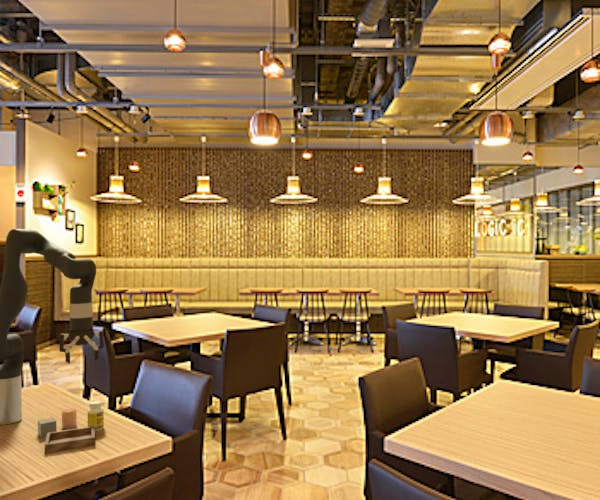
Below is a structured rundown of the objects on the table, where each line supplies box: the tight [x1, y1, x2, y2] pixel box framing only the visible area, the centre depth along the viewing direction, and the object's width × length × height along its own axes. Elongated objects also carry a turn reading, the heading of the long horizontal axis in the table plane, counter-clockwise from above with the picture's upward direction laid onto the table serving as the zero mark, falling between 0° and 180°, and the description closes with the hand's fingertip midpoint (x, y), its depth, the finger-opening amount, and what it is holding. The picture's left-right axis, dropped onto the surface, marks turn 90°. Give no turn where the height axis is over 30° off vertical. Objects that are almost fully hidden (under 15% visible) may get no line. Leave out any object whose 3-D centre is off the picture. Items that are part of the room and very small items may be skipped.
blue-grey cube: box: [37, 417, 58, 439], centre depth 180 cm, size 5×5×5 cm
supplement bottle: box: [87, 400, 105, 432], centre depth 184 cm, size 5×5×10 cm
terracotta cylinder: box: [61, 408, 78, 430], centre depth 187 cm, size 5×5×6 cm
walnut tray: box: [44, 426, 96, 455], centre depth 171 cm, size 15×12×3 cm
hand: (82, 362), depth 177 cm, fingers open, 8 cm apart
